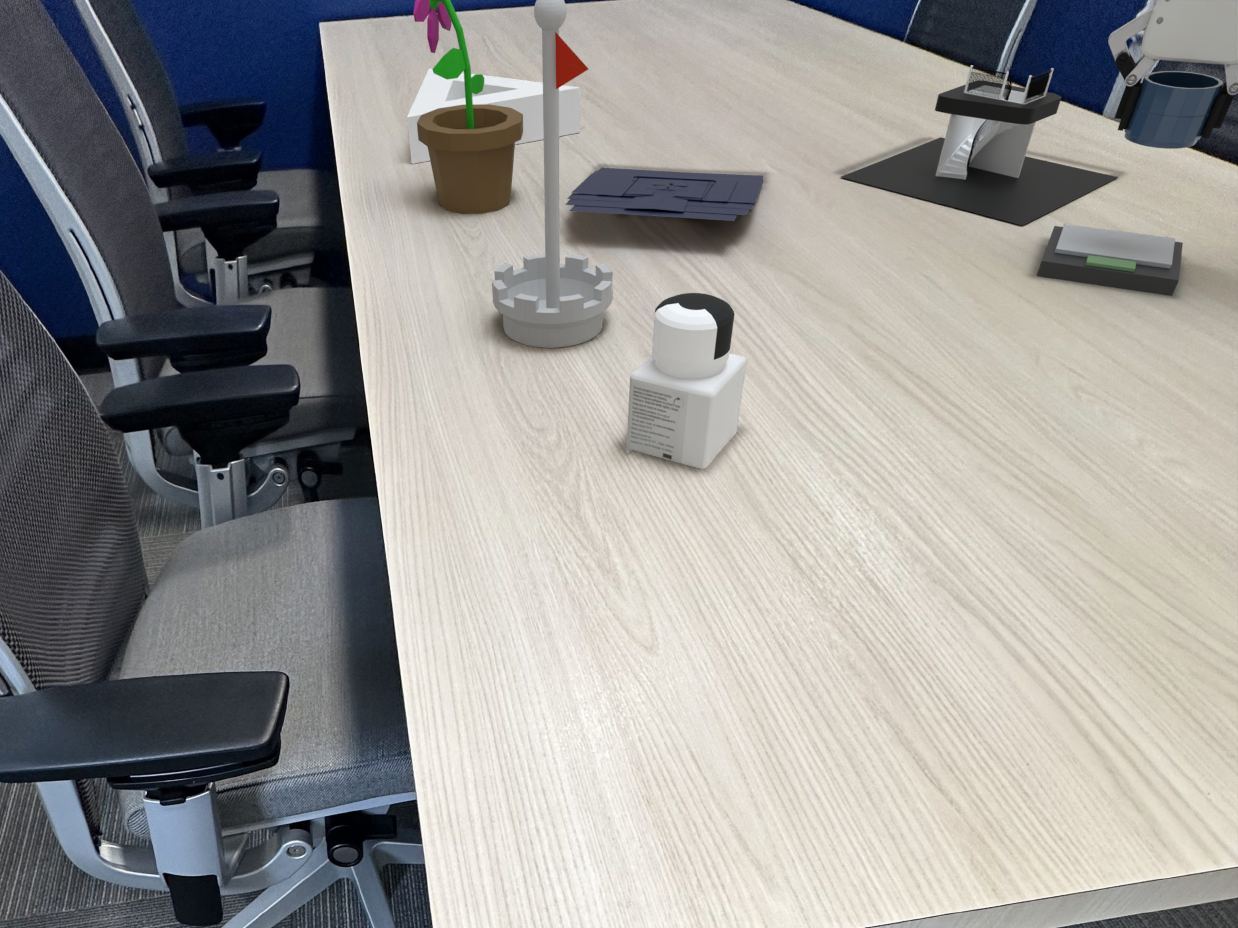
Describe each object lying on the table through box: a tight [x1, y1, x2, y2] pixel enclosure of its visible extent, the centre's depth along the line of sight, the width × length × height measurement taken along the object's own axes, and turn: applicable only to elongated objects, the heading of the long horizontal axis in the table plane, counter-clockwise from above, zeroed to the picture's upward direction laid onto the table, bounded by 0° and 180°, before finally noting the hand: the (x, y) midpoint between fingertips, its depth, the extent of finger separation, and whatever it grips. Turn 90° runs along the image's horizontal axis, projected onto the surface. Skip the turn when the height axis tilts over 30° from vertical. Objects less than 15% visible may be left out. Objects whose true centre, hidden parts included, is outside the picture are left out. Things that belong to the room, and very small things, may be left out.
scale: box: [1036, 223, 1184, 297], centre depth 111 cm, size 14×12×3 cm
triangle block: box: [406, 67, 582, 165], centre depth 155 cm, size 30×26×6 cm
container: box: [625, 292, 748, 470], centre depth 83 cm, size 8×8×13 cm
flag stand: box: [491, 0, 614, 349], centre depth 95 cm, size 13×13×30 cm
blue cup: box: [1123, 70, 1224, 150], centre depth 100 cm, size 7×7×5 cm
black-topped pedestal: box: [840, 64, 1119, 226], centre depth 132 cm, size 28×26×13 cm
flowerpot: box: [412, 0, 523, 214], centre depth 125 cm, size 14×14×30 cm
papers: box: [565, 166, 764, 222], centre depth 130 cm, size 24×30×4 cm
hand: (1163, 129), depth 101 cm, fingers closed on blue cup, 7 cm apart
